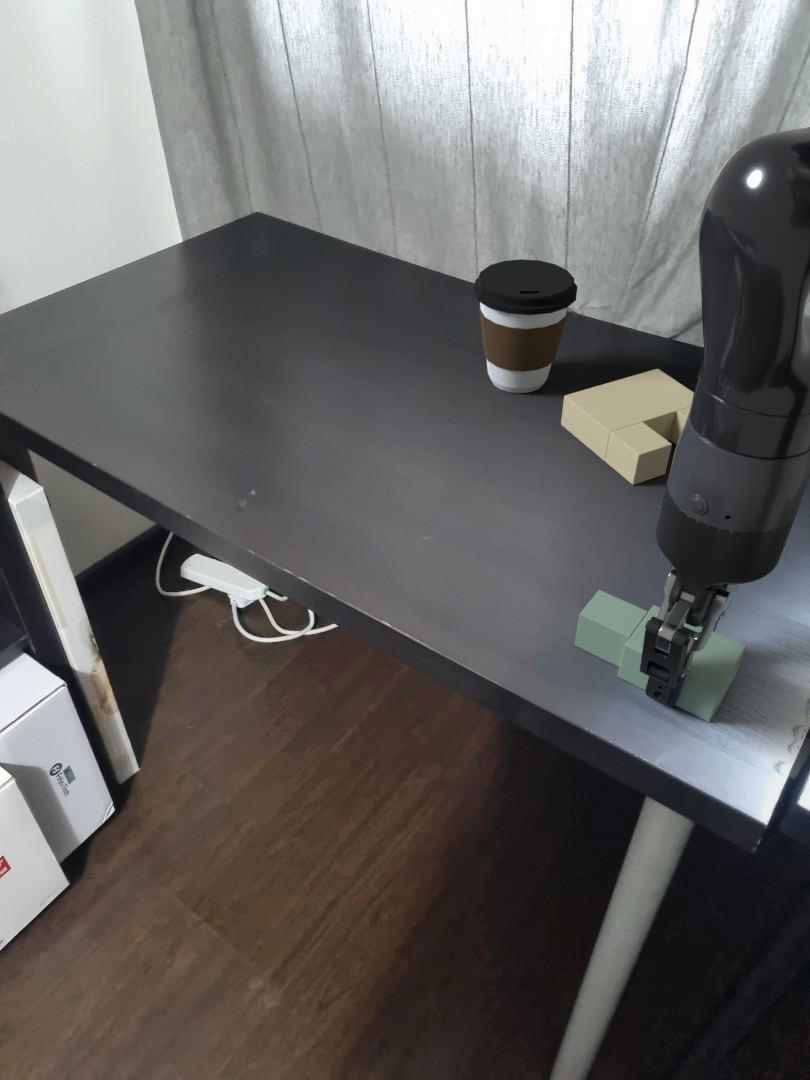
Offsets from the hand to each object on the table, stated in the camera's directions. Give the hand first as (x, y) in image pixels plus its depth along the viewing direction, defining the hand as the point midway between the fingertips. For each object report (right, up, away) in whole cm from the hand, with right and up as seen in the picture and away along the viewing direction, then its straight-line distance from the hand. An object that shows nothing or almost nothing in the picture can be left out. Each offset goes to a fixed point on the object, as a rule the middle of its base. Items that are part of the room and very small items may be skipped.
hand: (676, 673), depth 60 cm
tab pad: (-2, 0, +1) cm, 2 cm away
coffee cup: (-7, +28, +33) cm, 44 cm away
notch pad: (+4, +20, +24) cm, 32 cm away
